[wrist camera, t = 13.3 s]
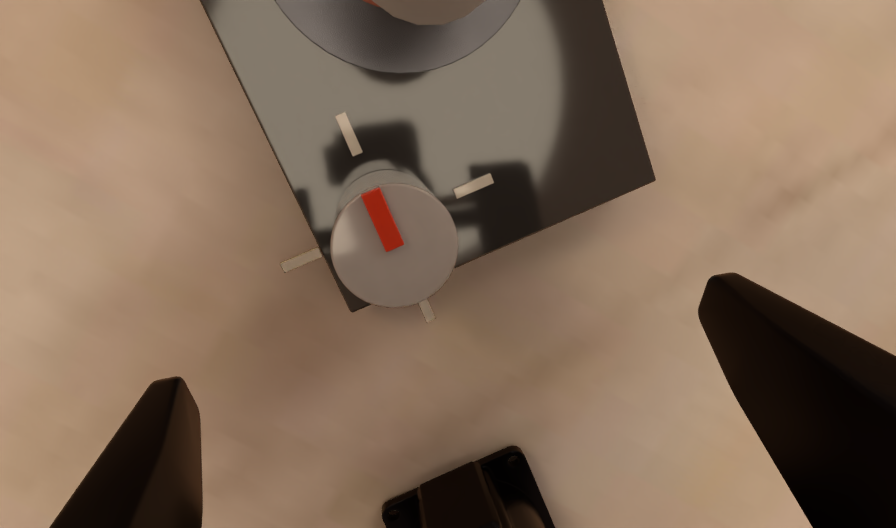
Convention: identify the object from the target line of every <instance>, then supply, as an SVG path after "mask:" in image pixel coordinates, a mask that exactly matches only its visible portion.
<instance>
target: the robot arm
mask: <svg viewBox="0 0 896 528" xmlns="http://www.w3.org/2000/svg"><path fill="white" fill-rule="evenodd" d="M698 315H699V319H700V322H701V324H702V327H703V329H704V331H705V333H706V335H707V338H708V340H709V342H710V344H711V346H712V349H713V351H714V353H715V355H716V357H717V359H718V362H719V364H720V366H721V368H722V370H723V373H724V375H725V377H726V379H727V381H728V383H729V385H730V387H731V389H732V391H733V393H734V395H735V397H736V399H737V401H738V402H739V404H740V406H741V408H742V409H743V411H744V413H745V414H746V416H747V418H748V419H749V421H750V423H751V424H752V426H753V428H754V429H755V431H756V433H757V435H758V436H759V438H760V440H761V441H762V443H763V445H764V446H765V448H766V450H767V451H768V453H769V455H770V456H771V458H772V460H773V461H774V463H775V465H776V467H777V468H778V470H779V472H780V473H781V475H782V477H783V478H784V480H785V482H786V483H787V485H788V487H789V488H790V490H791V492H792V493H793V495H794V497H795V499H796V500H797V502H798V504H799V505H800V507H801V509H802V510H803V512H804V514H805V515H806V517H807V519H808V520H809V522H810V524H811V525H812V527H813V528H896V356H894V355H893V354H891V353H889V352H887V351H885V350H883V349H881V348H879V347H877V346H875V345H873V344H871V343H870V342H868V341H866V340H864V339H862V338H860V337H858V336H856V335H854V334H852V333H850V332H848V331H846V330H845V329H843V328H841V327H839V326H837V325H835V324H833V323H831V322H829V321H827V320H825V319H823V318H822V317H820V316H818V315H816V314H814V313H812V312H810V311H808V310H806V309H804V308H802V307H800V306H798V305H797V304H795V303H793V302H791V301H789V300H787V299H785V298H783V297H781V296H779V295H777V294H775V293H773V292H772V291H770V290H768V289H766V288H764V287H762V286H760V285H758V284H756V283H754V282H752V281H750V280H749V279H747V278H745V277H743V276H741V275H739V274H737V273H724V274H719V275H714V276H712V277H711V278H710V279H709V280H708V282H707V285H706V287H705V290H704V293H703V296H702V299H701V302H700V305H699V308H698ZM512 456H517V459H516V460H515V461H512V462H510V461H509V458H511V457H512ZM393 510H396V511H398V513H397V514H395V515H391V514H389V512H391V511H393ZM202 512H203V495H202V459H201V422H200V414H199V409H198V407H197V404H196V402H195V400H194V398H193V396H192V395H191V393H190V391H189V389H188V387H187V385H186V383H185V381H184V380H183V379H182V378H181V377H177V376H176V377H171V378H165V379H160V380H156V381H154V382H153V383H151V384H150V386H149V387H148V388H147V390H146V391H145V392H144V394H143V395H142V397H141V398H140V400H139V401H138V402H137V404H136V405H135V407H134V408H133V410H132V411H131V412H130V414H129V415H128V417H127V418H126V419H125V421H124V422H123V424H122V425H121V427H120V428H119V429H118V431H117V432H116V434H115V435H114V437H113V438H112V439H111V441H110V442H109V444H108V445H107V446H106V448H105V449H104V451H103V452H102V454H101V455H100V456H99V458H98V459H97V461H96V462H95V464H94V465H93V466H92V468H91V469H90V471H89V472H88V473H87V475H86V476H85V478H84V479H83V481H82V482H81V483H80V485H79V486H78V488H77V489H76V491H75V492H74V493H73V495H72V496H71V498H70V499H69V500H68V502H67V503H66V505H65V506H64V508H63V509H62V510H61V512H60V513H59V515H58V516H57V517H56V519H55V520H54V522H53V523H52V525H51V526H50V527H49V528H201V527H202ZM382 519H383V522H384V523H385V525H386V527H387V528H555V526H554V524H553V522H552V519H551V517H550V515H549V512H548V510H547V508H546V505H545V503H544V500H543V498H542V496H541V493H540V491H539V489H538V486H537V484H536V482H535V479H534V477H533V474H532V472H531V470H530V467H529V465H528V463H527V460H526V458H525V456H524V454H523V452H522V450H521V449H520V448H519V447H517V446H509V447H506V448H504V449H502V450H500V451H498V452H495V453H493V454H491V455H489V456H486V457H484V458H482V459H480V460H478V461H475V462H470V463H467V464H465V465H463V466H461V467H458V468H456V469H454V470H452V471H449V472H447V473H445V474H443V475H441V476H438V477H436V478H434V479H432V480H429V481H427V482H425V483H423V484H421V485H420V486H419V487H417V488H415V489H413V490H411V491H409V492H406V493H404V494H402V495H400V496H397V497H395V498H393V499H391V500H389V501H387V502H386V503H385V504H384V505H383V506H382Z"/></svg>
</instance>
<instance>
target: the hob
mask: <svg viewBox="0 0 896 528" xmlns="http://www.w3.org/2000/svg"><path fill="white" fill-rule="evenodd" d="M200 2H201V4H202V6H203V8H204V10H205V12H206V14H207V16H208V18H209V20H210V22H211V24H212V27H213V29H214V31H215V33H216V35H217V37H218V39H219V41H220V43H221V45H222V47H223V49H224V51H225V53H226V55H227V58H228V60H229V62H230V64H231V66H232V68H233V70H234V72H235V74H236V76H237V78H238V80H239V82H240V84H241V86H242V89H243V91H244V93H245V95H246V97H247V99H248V101H249V103H250V105H251V107H252V109H253V111H254V113H255V115H256V117H257V120H258V122H259V124H260V126H261V128H262V130H263V132H264V134H265V136H266V138H267V140H268V142H269V144H270V146H271V148H272V151H273V153H274V155H275V157H276V159H277V161H278V163H279V165H280V167H281V169H282V171H283V173H284V175H285V177H286V180H287V182H288V184H289V186H290V188H291V190H292V192H293V194H294V196H295V198H296V200H297V202H298V204H299V206H300V208H301V211H302V213H303V215H304V217H305V219H306V221H307V223H308V225H309V227H310V229H311V231H312V233H313V235H314V237H315V239H316V242H317V244H318V246H319V247H316V248H314V249H311V250H309V251H307V252H304V253H302V254H300V255H297V256H295V257H293V258H290V259H288V260H286V261H283V262H281V263H280V265H281V267H282V269H283V271H284V273H286V272H288V271H291V270H293V269H295V268H298V267H300V266H302V265H304V264H307V263H309V262H311V261H314V260H316V259H318V258H321V257H323V256H324V258H325V260H326V262H327V264H328V266H329V268H330V270H331V273H332V275H333V277H334V279H335V281H336V283H337V285H338V287H339V289H340V291H341V293H342V295H343V297H344V299H345V301H346V304H347V306H348V308H349V310H350V311H351V312H355V311H357V310H360V309H362V308H364V307H367V306H369V305H371V304H370V303H368V302H365V301H363V300H362V299H360V298H358V297H357V296H355V295H354V294H353V293H352V292H350V291H349V290H348V289H347V288H346V287H345V285H344V284H343V283H342V281H341V280H340V278H339V277H338V275H337V273H336V271H335V268H334V266H333V262H332V259H331V251H330V240H331V234H332V228H333V223H334V218H335V213H336V208H337V205H338V202H339V200H340V198H341V196H342V195H343V193H344V192H345V190H346V189H347V188H348V187H349V186H350V185H351V184H352V183H353V182H354V181H356V180H357V179H358V178H360V177H362V176H364V175H366V174H368V173H371V172H375V171H379V170H396V171H401V172H404V173H407V174H409V175H411V176H413V177H415V178H417V179H418V180H420V181H421V182H422V183H423V184H424V185H425V186H426V187H427V188H428V189H429V190H430V191H431V192H432V193H433V194H434V195H435V196H436V197H437V198H438V199H439V201H440V202H441V203H442V204H443V205H444V206H445V207H446V209H447V210H448V212H449V213H450V215H451V217H452V219H453V221H454V224H455V227H456V230H457V235H458V255H457V259H456V263H455V266H454V268H456V267H459V266H461V265H463V264H465V263H468V262H470V261H472V260H475V259H477V258H479V257H481V256H484V255H486V254H488V253H491V252H493V251H495V250H498V249H500V248H502V247H504V246H507V245H509V244H511V243H514V242H516V241H518V240H521V239H523V238H525V237H527V236H530V235H532V234H534V233H537V232H539V231H541V230H544V229H546V228H548V227H550V226H553V225H555V224H557V223H560V222H562V221H564V220H567V219H569V218H571V217H573V216H576V215H578V214H580V213H583V212H585V211H587V210H590V209H592V208H594V207H596V206H599V205H601V204H603V203H606V202H608V201H610V200H613V199H615V198H617V197H619V196H622V195H624V194H626V193H629V192H631V191H633V190H636V189H638V188H640V187H642V186H645V185H647V184H649V183H652V182H654V181H655V180H656V179H655V176H654V172H653V169H652V165H651V162H650V159H649V155H648V152H647V149H646V145H645V142H644V139H643V135H642V132H641V129H640V125H639V122H638V119H637V115H636V112H635V109H634V105H633V102H632V98H631V95H630V92H629V88H628V85H627V82H626V78H625V75H624V72H623V68H622V65H621V62H620V58H619V55H618V52H617V48H616V45H615V42H614V38H613V35H612V31H611V28H610V25H609V21H608V18H607V15H606V11H605V8H604V5H603V1H602V0H520V2H519V4H518V5H517V7H516V8H515V10H514V11H513V13H512V14H511V16H510V18H509V19H508V20H507V21H506V22H505V24H504V25H503V26H502V27H501V28H500V30H499V31H498V32H497V33H496V34H495V35H494V36H493V37H492V38H490V39H489V40H488V41H487V42H486V43H485V44H484V45H483V46H481V47H480V48H478V49H477V50H475V51H474V52H472V53H471V54H469V55H468V56H466V57H464V58H462V59H460V60H458V61H456V62H454V63H452V64H449V65H446V66H443V67H440V68H438V69H435V70H429V71H424V72H419V73H406V74H395V73H383V72H377V71H373V70H368V69H364V68H361V67H358V66H355V65H352V64H350V63H347V62H344V61H343V60H341V59H339V58H337V57H335V56H333V55H331V54H329V53H327V52H326V51H324V50H323V49H322V48H320V47H319V46H317V45H316V44H314V43H313V42H312V41H310V40H309V39H308V38H307V37H306V36H305V35H304V34H303V33H301V32H300V31H299V30H298V29H297V28H296V27H295V26H294V25H293V23H292V22H291V21H290V20H289V19H288V18H287V17H286V15H285V14H284V13H283V12H282V11H281V9H280V8H279V6H278V5H277V3H276V2H275V0H200ZM319 248H320V249H319ZM320 250H321V251H320ZM321 252H322V253H321ZM322 254H323V255H322ZM418 304H419V306H420V309H421V311H422V313H423V315H424V318H425V320H426V322H427V323H428V322H430V321H432V320H434V319H436V318H435V315H434V313H433V311H432V308H431V306H430V304H429V302H428V299H426V300H424V301H422V302H420V303H418Z"/></svg>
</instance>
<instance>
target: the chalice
mask: <svg viewBox="0 0 896 528" xmlns="http://www.w3.org/2000/svg"><path fill="white" fill-rule="evenodd" d="M372 1H373V2H375V3H376V4H377V5H379V6H380V7H381V8H383V9H384V10H385V11H387V12H388V13H389V14H391V15H392V16H393V17H396V18H399V19H402V20H405V21H408V22H411V23H414V24H416V25H444V24H446V23H449V22H452V21H454V20H457V19H460V18H463V17H465V16H467V15H468V14H469V13H470V12H472V11H473V10H474V9H475V8H477V7H478V6H479V5H480V4H481V3H483V2H484V1H485V0H372Z"/></svg>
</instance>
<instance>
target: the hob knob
mask: <svg viewBox="0 0 896 528" xmlns="http://www.w3.org/2000/svg"><path fill="white" fill-rule="evenodd" d="M330 251H331V259H332V262H333V266H334V268H335V271H336V273H337V275H338V277H339V278H340V280H341V281H342V283H343V284H344V285H345V287H346V288H347V289H348V290H349V291H350V292H352V293H353V294H354V295H355V296H357V297H358V298H360V299H362V300H363V301H365V302H368V303H370V304H373V305H376V306H380V307H386V308H400V307H407V306H411V305H414V304H417V303H420V302H422V301H424V300H426V299H428V298H429V297H430V296H432V295H433V294H435V293H436V292H437V291H438V290H439V289H440V288H441V287H442V286H443V285H444V284H445V282H446V281H447V279H448V278H449V277H450V275H451V273H452V271H453V269H454V266H455V263H456V259H457V255H458V235H457V230H456V227H455V224H454V221H453V219H452V217H451V215H450V213H449V212H448V210H447V209H446V207H445V206H444V205H443V204H442V203H441V202H440V201H439V199H438V198H437V197H436V196H435V195H434V194H433V193H432V192H431V191H430V190H429V189H428V188H427V187H426V186H425V185H424V184H423V183H422V182H421V181H420V180H418V179H417V178H415V177H413V176H411V175H409V174H407V173H404V172H401V171H396V170H379V171H375V172H371V173H368V174H366V175H364V176H362V177H360V178H358V179H357V180H356V181H354V182H353V183H352V184H351V185H350V186H349V187H348V188H347V189H346V190H345V192H344V193H343V195H342V196H341V198H340V200H339V202H338V205H337V208H336V213H335V218H334V223H333V228H332V234H331V240H330Z"/></svg>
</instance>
